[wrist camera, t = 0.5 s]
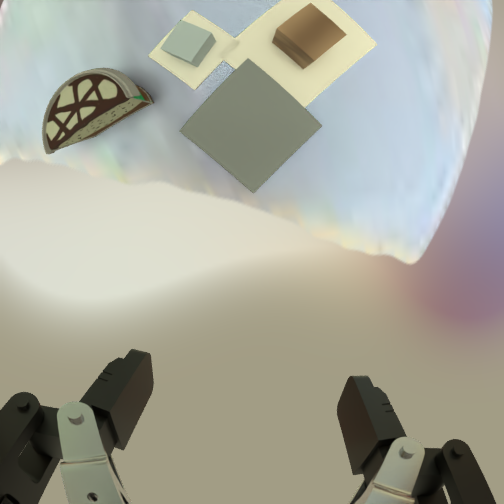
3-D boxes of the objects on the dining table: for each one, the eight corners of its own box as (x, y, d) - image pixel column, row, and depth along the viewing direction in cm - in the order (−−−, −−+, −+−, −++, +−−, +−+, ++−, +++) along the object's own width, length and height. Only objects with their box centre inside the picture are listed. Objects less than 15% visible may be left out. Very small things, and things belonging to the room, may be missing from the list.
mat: (180, 130, 30) (179, 131, 30) (248, 58, 26) (247, 57, 25) (253, 192, 34) (253, 193, 34) (321, 125, 30) (322, 125, 29)
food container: (148, 57, 25) (112, 42, 16) (164, 97, 28) (132, 94, 19) (74, 105, 27) (27, 110, 18) (88, 141, 30) (43, 156, 21)
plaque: (148, 56, 25) (147, 56, 25) (192, 10, 22) (192, 9, 22) (195, 90, 28) (194, 90, 27) (241, 43, 25) (241, 43, 25)
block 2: (271, 42, 25) (276, 28, 19) (300, 19, 23) (310, 2, 18) (303, 69, 26) (314, 61, 21) (330, 46, 24) (347, 34, 19)
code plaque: (217, 55, 26) (217, 55, 25) (307, -17, 20) (308, -18, 20) (292, 119, 30) (292, 119, 29) (376, 45, 24) (377, 44, 24)
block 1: (170, 54, 25) (160, 48, 21) (188, 29, 23) (180, 19, 20) (197, 67, 26) (190, 61, 22) (216, 41, 24) (211, 32, 21)
